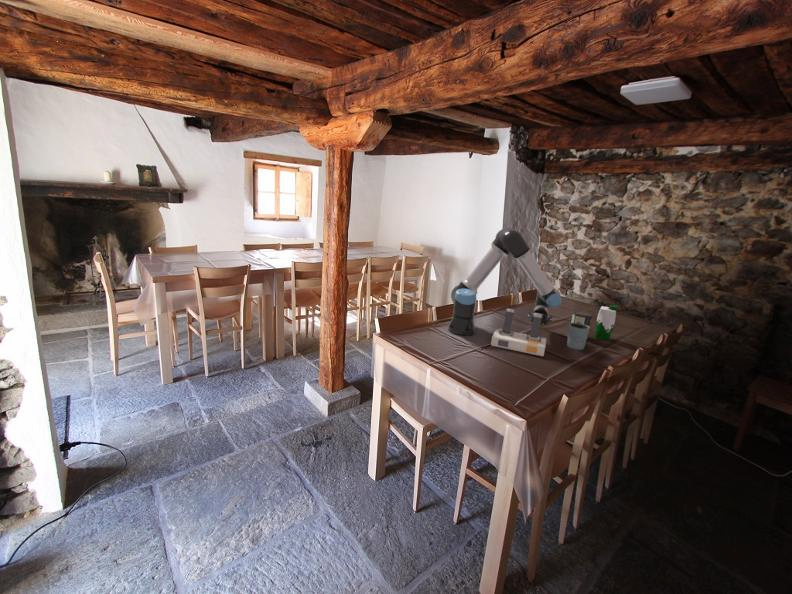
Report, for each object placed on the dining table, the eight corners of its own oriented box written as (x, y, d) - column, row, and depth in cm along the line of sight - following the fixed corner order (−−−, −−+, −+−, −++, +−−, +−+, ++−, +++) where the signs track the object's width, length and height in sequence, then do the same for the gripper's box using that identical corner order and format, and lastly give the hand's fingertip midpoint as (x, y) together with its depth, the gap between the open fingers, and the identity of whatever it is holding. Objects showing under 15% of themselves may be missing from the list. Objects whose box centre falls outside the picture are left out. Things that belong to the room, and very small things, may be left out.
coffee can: (584, 334, 229) (589, 311, 225) (589, 340, 219) (594, 316, 215) (566, 331, 231) (571, 309, 227) (570, 337, 221) (575, 314, 217)
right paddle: (529, 336, 197) (534, 313, 196) (530, 336, 200) (534, 312, 198) (538, 338, 196) (542, 314, 194) (538, 337, 198) (542, 313, 196)
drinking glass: (575, 351, 201) (580, 329, 198) (560, 343, 210) (564, 323, 207) (589, 349, 205) (594, 328, 202) (574, 342, 214) (578, 321, 211)
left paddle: (502, 330, 203) (506, 307, 205) (502, 331, 205) (507, 308, 207) (510, 332, 202) (514, 309, 204) (510, 333, 204) (514, 310, 206)
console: (490, 345, 200) (492, 332, 198) (495, 337, 213) (497, 324, 211) (543, 356, 191) (545, 342, 189) (544, 347, 203) (547, 334, 201)
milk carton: (610, 341, 219) (617, 308, 214) (592, 338, 223) (599, 305, 218) (610, 337, 226) (618, 305, 221) (593, 334, 230) (600, 302, 225)
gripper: (551, 321, 218) (550, 334, 197) (527, 317, 222) (524, 329, 201) (553, 309, 216) (553, 320, 195) (529, 305, 220) (526, 315, 199)
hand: (538, 325), depth 198 cm, fingers closed
